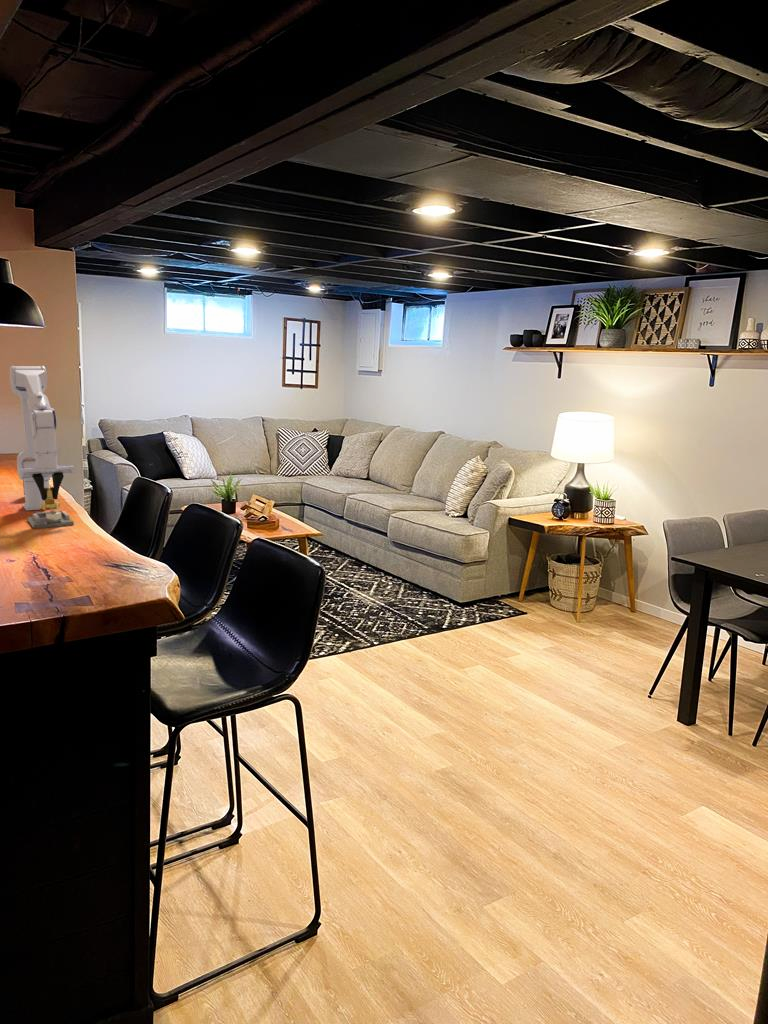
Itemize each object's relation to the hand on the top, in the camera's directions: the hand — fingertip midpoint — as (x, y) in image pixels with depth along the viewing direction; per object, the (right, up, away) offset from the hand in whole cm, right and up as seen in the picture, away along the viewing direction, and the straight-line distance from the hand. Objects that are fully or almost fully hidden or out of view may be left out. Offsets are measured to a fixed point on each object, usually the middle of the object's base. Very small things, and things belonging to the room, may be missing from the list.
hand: (49, 499), depth 220 cm
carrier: (0, -7, 0) cm, 7 cm away
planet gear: (0, -3, +1) cm, 3 cm away
